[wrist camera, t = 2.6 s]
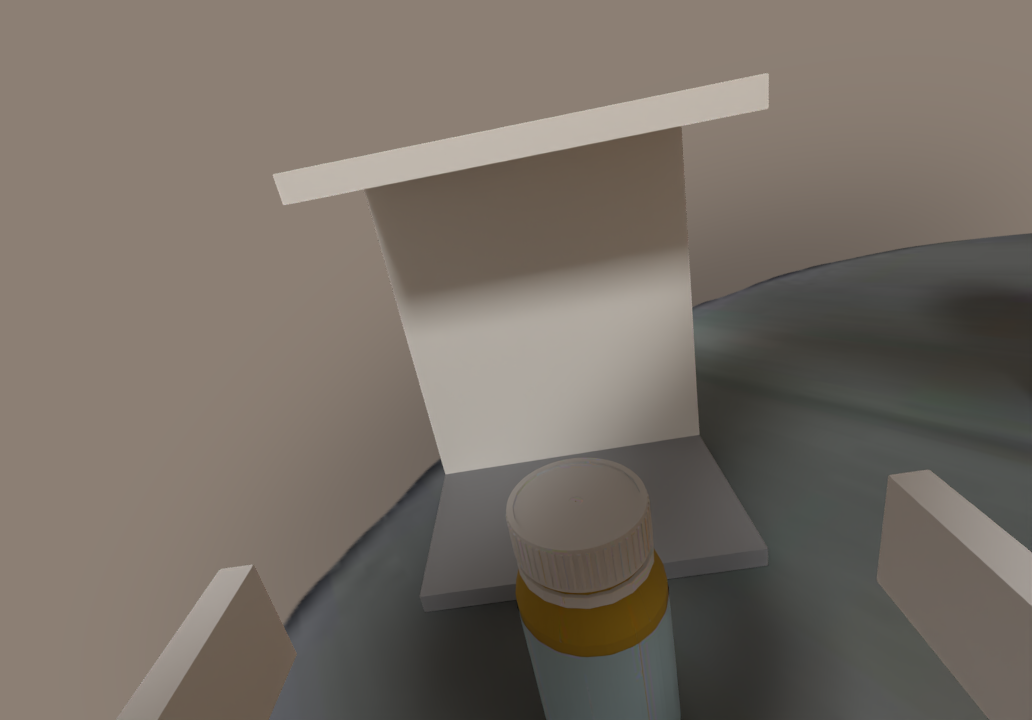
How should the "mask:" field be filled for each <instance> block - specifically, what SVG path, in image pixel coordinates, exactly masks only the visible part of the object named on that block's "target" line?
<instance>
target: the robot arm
mask: <svg viewBox="0 0 1032 720" xmlns="http://www.w3.org/2000/svg"><path fill="white" fill-rule="evenodd" d="M877 582H878V583H879V584H880V585H881V586H882V588H883V589H884V590H885V591H886V593H887V594H888V595H889V596H890V598H891V599H892V600H893V601H894V603H895V604H896V605H897V606H898V607H899V609H900V610H901V611H902V612H903V614H904V615H905V616H906V617H907V619H908V620H909V621H910V622H911V624H912V625H913V626H914V627H915V628H916V630H917V631H918V632H919V633H920V635H921V636H922V637H923V638H924V640H925V641H926V642H927V643H928V645H929V646H930V647H931V648H932V649H933V651H934V652H935V653H936V654H937V656H938V657H939V658H940V659H941V661H942V662H943V663H944V664H945V666H946V667H947V668H948V669H949V670H950V672H951V673H952V674H953V675H954V677H955V678H956V679H957V680H958V682H959V683H960V684H961V685H962V687H963V688H964V689H965V690H966V691H967V693H968V694H969V695H970V696H971V698H972V699H973V700H974V701H975V703H976V704H977V705H978V706H979V708H980V709H981V710H982V711H983V712H984V714H985V715H986V716H987V717H988V719H989V720H1032V552H1030V551H1029V550H1028V549H1027V548H1026V547H1024V546H1023V545H1022V544H1021V543H1019V542H1018V541H1017V540H1016V539H1014V538H1013V537H1012V536H1011V535H1009V534H1008V533H1007V532H1006V531H1004V530H1003V529H1002V528H1001V527H1000V526H998V525H997V524H996V523H995V522H993V521H992V520H991V519H990V518H988V517H987V516H986V515H985V514H983V513H982V512H981V511H980V510H979V509H977V508H976V507H975V506H974V505H972V504H971V503H970V502H969V501H967V500H966V499H965V498H964V497H962V496H961V495H960V494H959V493H957V492H956V491H955V490H954V489H953V488H951V487H950V486H949V485H948V484H946V483H945V482H944V481H943V480H941V479H940V478H939V477H938V476H936V475H935V474H934V473H933V472H931V471H930V470H922V471H915V472H908V473H901V474H894V475H888V484H887V492H886V501H885V510H884V519H883V528H882V537H881V546H880V555H879V564H878V573H877ZM296 655H297V653H296V651H295V649H294V647H293V645H292V643H291V641H290V639H289V637H288V635H287V633H286V631H285V628H284V626H283V624H282V622H281V620H280V618H279V616H278V614H277V612H276V610H275V608H274V606H273V604H272V602H271V599H270V597H269V595H268V593H267V591H266V589H265V587H264V585H263V583H262V581H261V579H260V576H259V575H258V572H257V570H256V568H255V566H254V565H246V566H239V567H231V568H224V569H220V570H219V571H218V573H217V574H216V575H215V577H214V578H213V580H212V581H211V583H210V584H209V586H208V587H207V588H206V590H205V591H204V593H203V594H202V596H201V597H200V599H199V600H198V602H197V603H196V604H195V606H194V607H193V609H192V610H191V612H190V613H189V615H188V616H187V617H186V619H185V620H184V622H183V623H182V625H181V626H180V628H179V629H178V630H177V632H176V633H175V635H174V636H173V638H172V639H171V641H170V642H169V643H168V645H167V646H166V648H165V649H164V651H163V652H162V654H161V655H160V657H159V658H158V660H157V661H156V662H155V664H154V665H153V667H152V668H151V669H150V671H149V672H148V674H147V675H146V677H145V678H144V680H143V681H142V683H141V684H140V685H139V687H138V688H137V690H136V691H135V693H134V694H133V696H132V697H131V698H130V700H129V701H128V703H127V704H126V706H125V707H124V709H123V710H122V711H121V713H120V715H119V716H118V717H117V719H116V720H269V718H270V715H271V713H272V711H273V708H274V706H275V704H276V701H277V699H278V697H279V694H280V692H281V690H282V687H283V685H284V683H285V680H286V678H287V676H288V673H289V671H290V669H291V666H292V664H293V662H294V659H295V657H296Z"/></svg>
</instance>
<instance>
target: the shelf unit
mask: <svg viewBox="0 0 1032 720" xmlns="http://www.w3.org/2000/svg"><path fill="white" fill-rule="evenodd" d="M768 74H769V73H766V74H761V75H756V76H751V77H746V78H742V79H736V80H731V81H727V82H722V83H717V84H712V85H707V86H702V87H697V88H692V89H687V90H683V91H678V92H673V93H669V94H663V95H659V96H653V97H648V98H643V99H639V100H634V101H629V102H624V103H619V104H614V105H609V106H604V107H599V108H595V109H590V110H585V111H580V112H575V113H570V114H565V115H561V116H556V117H551V118H546V119H541V120H536V121H531V122H526V123H521V124H517V125H512V126H507V127H502V128H497V129H492V130H487V131H482V132H478V133H473V134H468V135H463V136H458V137H453V138H448V139H443V140H438V141H433V142H429V143H424V144H419V145H414V146H409V147H404V148H400V149H394V150H390V151H385V152H380V153H375V154H370V155H365V156H360V157H356V158H350V159H345V160H341V161H336V162H331V163H326V164H321V165H316V166H312V167H307V168H301V169H297V170H292V171H287V172H282V173H277V174H273V177H274V180H275V183H276V186H277V189H278V192H279V195H280V197H281V200H282V203H283V205H288V204H292V203H297V202H303V201H307V200H313V199H317V198H323V197H327V196H333V195H338V194H343V193H348V192H352V191H358V190H362V189H364V192H365V196H366V199H367V203H368V206H369V209H370V213H371V217H372V220H373V223H374V227H375V231H376V234H377V237H378V241H379V244H380V248H381V251H382V255H383V258H384V262H385V265H386V269H387V272H388V276H389V279H390V283H391V286H392V290H393V293H394V297H395V300H396V304H397V307H398V311H399V314H400V317H401V321H402V325H403V328H404V332H405V335H406V338H407V342H408V346H409V349H410V352H411V356H412V359H413V363H414V366H415V370H416V373H417V377H418V380H419V384H420V387H421V391H422V394H423V398H424V401H425V405H426V408H427V412H428V415H429V419H430V422H431V426H432V429H433V432H434V436H435V440H436V443H437V447H438V450H439V453H440V457H441V461H442V464H443V468H444V471H445V479H444V484H443V488H442V493H441V498H440V503H439V507H438V512H437V517H436V521H435V526H434V531H433V536H432V540H431V545H430V550H429V555H428V559H427V564H426V569H425V573H424V578H423V583H422V588H421V592H420V600H421V603H422V605H423V608H424V611H425V612H431V611H438V610H445V609H453V608H460V607H467V606H475V605H482V604H489V603H497V602H504V601H512V600H517V599H516V593H515V592H516V578H517V573H518V564H517V559H516V557H515V553H514V550H513V546H512V542H511V538H510V534H509V529H508V525H507V521H506V506H507V501H508V498H509V496H510V494H511V492H512V490H513V489H514V488H515V486H516V485H517V484H518V483H519V482H520V481H521V480H522V479H523V478H524V477H526V476H527V475H528V474H530V473H531V472H533V471H535V470H537V469H538V468H541V467H543V466H545V465H548V464H550V463H553V462H557V461H561V460H565V459H571V458H599V459H605V460H609V461H613V462H616V463H619V464H621V465H623V466H625V467H627V468H629V469H630V470H632V471H633V472H634V473H635V474H636V475H637V476H638V477H639V478H640V479H641V480H642V482H643V484H644V485H645V488H646V490H647V494H648V495H649V500H650V510H651V519H652V528H653V544H654V549H655V551H656V552H657V554H658V556H659V557H660V559H661V561H662V563H663V565H664V569H665V573H666V576H667V579H673V578H680V577H688V576H695V575H702V574H710V573H717V572H724V571H732V570H739V569H746V568H754V567H761V566H768V547H767V546H766V544H765V543H764V541H763V539H762V538H761V536H760V534H759V533H758V531H757V529H756V528H755V526H754V524H753V523H752V521H751V519H750V518H749V516H748V514H747V513H746V511H745V509H744V508H743V506H742V504H741V503H740V501H739V499H738V498H737V496H736V495H735V493H734V491H733V490H732V488H731V486H730V485H729V483H728V481H727V480H726V478H725V476H724V475H723V473H722V471H721V470H720V468H719V466H718V465H717V463H716V461H715V460H714V458H713V456H712V455H711V453H710V451H709V450H708V448H707V446H706V445H705V443H704V442H703V440H702V438H701V437H700V435H699V419H698V402H697V385H696V367H695V350H694V333H693V316H692V299H691V282H690V265H689V247H688V230H687V213H686V199H685V198H686V197H685V179H684V163H683V147H682V146H683V145H682V128H681V126H683V125H688V124H693V123H698V122H703V121H708V120H713V119H718V118H723V117H728V116H733V115H738V114H743V113H748V112H753V111H758V110H763V109H768V108H769V101H768V100H769V95H768V94H769V75H768Z"/></svg>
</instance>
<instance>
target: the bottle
mask: <svg viewBox="0 0 1032 720" xmlns="http://www.w3.org/2000/svg"><path fill="white" fill-rule="evenodd" d="M506 521H507V525H508V529H509V534H510V538H511V542H512V546H513V550H514V553H515V557H516V559H517V564H518V573H517V578H516V592H515V593H516V599H517V605H518V610H519V614H520V618H521V622H522V626H523V630H524V634H525V638H526V642H527V646H528V650H529V654H530V658H531V662H532V666H533V670H534V674H535V678H536V682H537V686H538V690H539V694H540V698H541V701H542V705H543V709H544V713H545V717H546V720H681V709H680V699H679V689H678V679H677V668H676V658H675V648H674V638H673V627H672V617H671V607H670V597H669V587H668V583H667V576H666V573H665V569H664V565H663V563H662V561H661V559H660V557H659V556H658V554H657V552H656V551H655V549H654V544H653V528H652V519H651V510H650V500H649V495H648V494H647V490H646V488H645V485H644V484H643V482H642V480H641V479H640V478H639V477H638V476H637V475H636V474H635V473H634V472H633V471H632V470H630V469H629V468H627V467H625V466H623V465H621V464H619V463H616V462H613V461H609V460H605V459H599V458H571V459H565V460H561V461H557V462H553V463H550V464H548V465H545V466H543V467H541V468H538V469H537V470H535V471H533V472H531V473H530V474H528V475H527V476H526V477H524V478H523V479H522V480H521V481H520V482H519V483H518V484H517V485H516V486H515V488H514V489H513V490H512V492H511V494H510V496H509V498H508V501H507V506H506Z"/></svg>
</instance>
